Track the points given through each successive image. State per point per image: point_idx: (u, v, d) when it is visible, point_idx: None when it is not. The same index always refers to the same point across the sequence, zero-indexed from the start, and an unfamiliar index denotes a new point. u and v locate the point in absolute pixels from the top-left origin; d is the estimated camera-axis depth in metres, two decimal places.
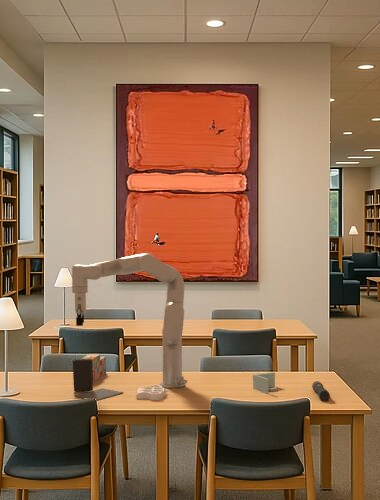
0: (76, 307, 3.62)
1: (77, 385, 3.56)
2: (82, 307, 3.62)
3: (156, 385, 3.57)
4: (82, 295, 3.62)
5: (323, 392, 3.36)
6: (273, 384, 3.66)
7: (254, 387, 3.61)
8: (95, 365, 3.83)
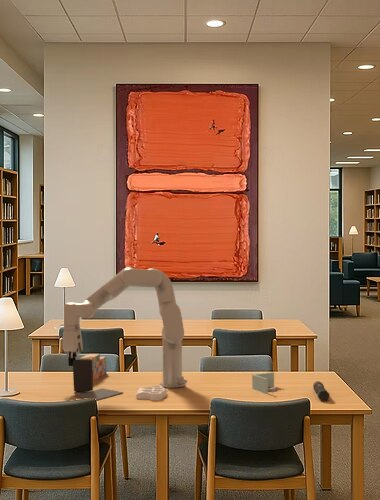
0: (75, 350, 3.58)
1: (77, 385, 3.56)
2: (80, 350, 3.60)
3: (156, 385, 3.57)
4: (80, 333, 3.60)
5: (322, 392, 3.36)
6: (272, 384, 3.66)
7: (253, 387, 3.61)
8: (94, 365, 3.83)
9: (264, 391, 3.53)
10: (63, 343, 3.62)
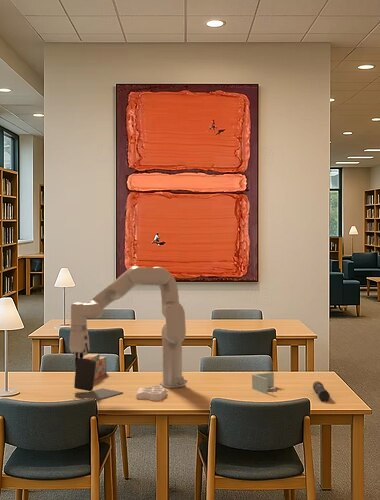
0: None
1: (77, 384, 3.55)
2: (87, 350, 3.57)
3: (157, 385, 3.57)
4: (87, 333, 3.57)
5: (323, 392, 3.36)
6: (272, 384, 3.66)
7: (253, 387, 3.61)
8: None
9: (264, 391, 3.53)
10: (70, 343, 3.59)
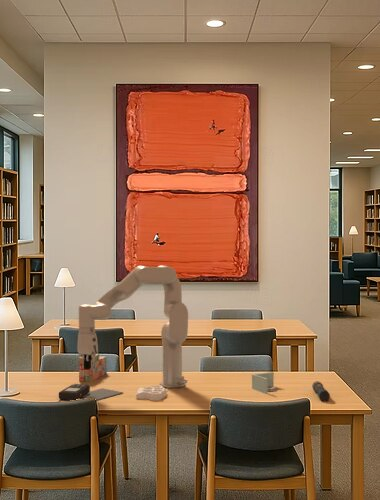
0: None
1: None
2: (95, 353, 3.54)
3: (157, 385, 3.57)
4: (95, 336, 3.53)
5: (323, 392, 3.36)
6: (272, 384, 3.67)
7: (253, 387, 3.61)
8: (93, 365, 3.84)
9: (264, 391, 3.53)
10: (78, 346, 3.56)
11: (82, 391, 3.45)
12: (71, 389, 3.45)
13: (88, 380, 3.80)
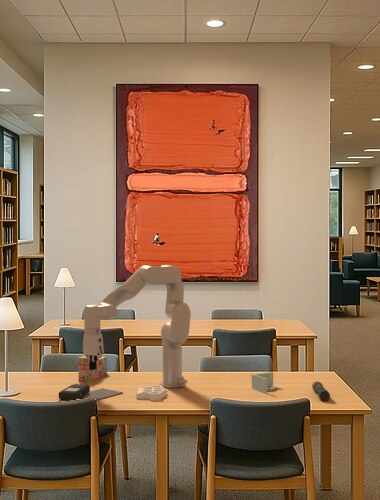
0: None
1: None
2: (101, 353, 3.52)
3: (157, 385, 3.57)
4: (101, 336, 3.51)
5: (323, 392, 3.36)
6: (271, 384, 3.67)
7: (253, 387, 3.61)
8: None
9: (264, 391, 3.53)
10: (84, 346, 3.53)
11: (82, 391, 3.45)
12: (71, 389, 3.45)
13: (87, 380, 3.81)
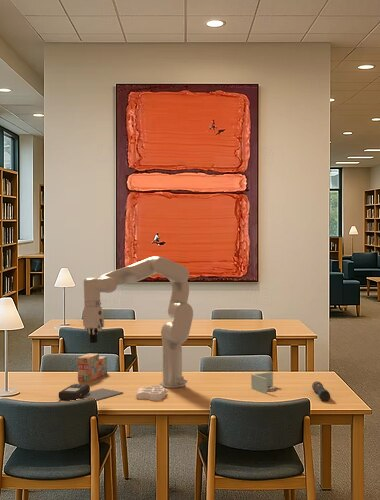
0: None
1: None
2: None
3: (157, 385, 3.57)
4: (101, 309, 3.50)
5: (323, 392, 3.36)
6: (271, 384, 3.67)
7: (252, 387, 3.61)
8: (92, 365, 3.84)
9: (263, 391, 3.53)
10: (84, 320, 3.53)
11: (82, 391, 3.45)
12: (71, 389, 3.45)
13: (87, 380, 3.81)
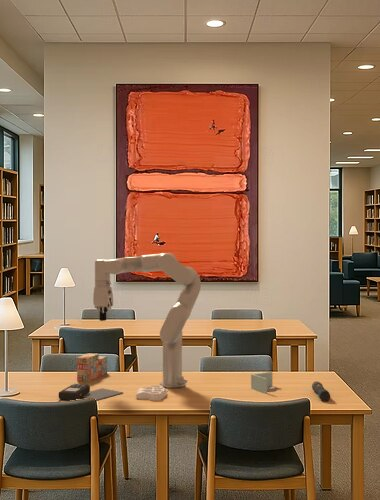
0: (106, 305, 3.69)
1: None
2: (110, 305, 3.72)
3: (157, 385, 3.57)
4: (111, 289, 3.71)
5: (323, 392, 3.36)
6: (271, 384, 3.67)
7: (252, 387, 3.61)
8: (91, 365, 3.84)
9: (263, 391, 3.53)
10: (94, 299, 3.73)
11: (82, 391, 3.45)
12: (71, 389, 3.45)
13: (86, 380, 3.81)
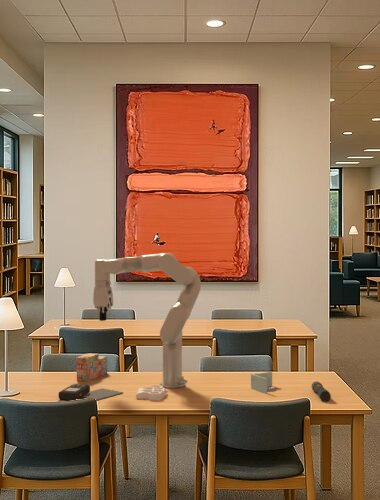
0: (106, 305, 3.69)
1: None
2: (110, 305, 3.72)
3: (157, 385, 3.57)
4: (111, 289, 3.71)
5: (324, 392, 3.36)
6: (270, 383, 3.67)
7: (252, 387, 3.61)
8: (90, 364, 3.84)
9: (263, 391, 3.53)
10: (94, 299, 3.73)
11: (82, 391, 3.45)
12: (71, 389, 3.45)
13: (85, 380, 3.81)
